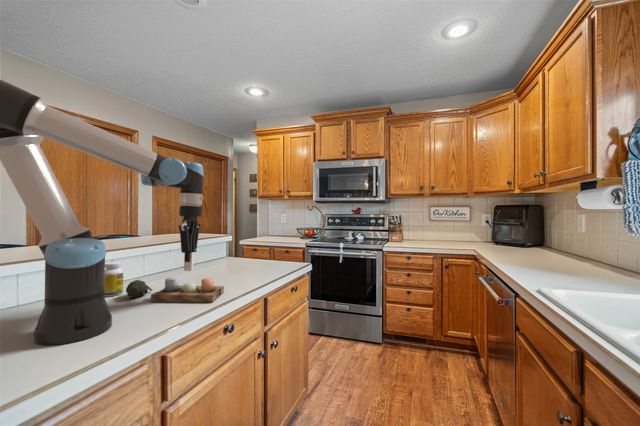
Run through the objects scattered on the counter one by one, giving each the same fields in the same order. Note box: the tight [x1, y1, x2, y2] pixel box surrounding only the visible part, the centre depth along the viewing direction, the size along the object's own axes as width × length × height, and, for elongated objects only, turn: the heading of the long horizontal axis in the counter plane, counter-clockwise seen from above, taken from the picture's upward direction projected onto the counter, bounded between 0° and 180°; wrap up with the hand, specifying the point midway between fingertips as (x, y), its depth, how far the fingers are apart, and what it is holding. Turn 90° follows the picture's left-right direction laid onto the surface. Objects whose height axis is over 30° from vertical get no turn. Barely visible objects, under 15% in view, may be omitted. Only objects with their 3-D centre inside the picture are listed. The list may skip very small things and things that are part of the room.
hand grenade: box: [125, 279, 153, 299], centre depth 103 cm, size 6×7×12 cm
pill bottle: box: [104, 261, 124, 298], centre depth 104 cm, size 6×6×12 cm
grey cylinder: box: [164, 277, 179, 292], centre depth 103 cm, size 4×4×4 cm
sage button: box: [182, 282, 197, 292], centre depth 103 cm, size 4×4×4 cm
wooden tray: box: [150, 285, 225, 304], centre depth 103 cm, size 21×12×2 cm, turn 92°
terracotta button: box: [200, 277, 215, 292], centre depth 103 cm, size 4×4×4 cm
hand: (188, 270), depth 103 cm, fingers closed
